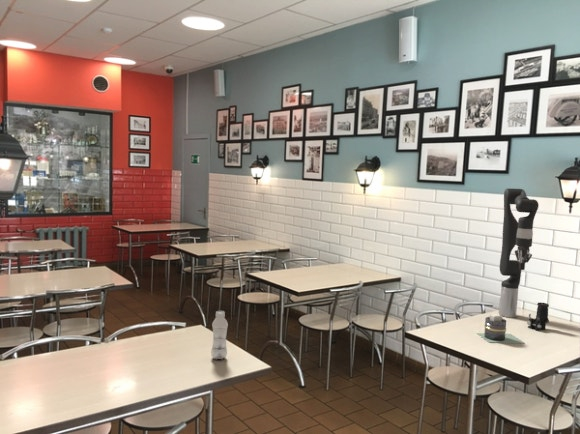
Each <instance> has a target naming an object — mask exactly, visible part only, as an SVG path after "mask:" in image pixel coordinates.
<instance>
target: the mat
mask: <svg viewBox="0 0 580 434" xmlns="http://www.w3.org/2000/svg"><path fill="white" fill-rule="evenodd" d="M476 335H478V336H479V337H480V336H481V338H482V339H483V340H484V341H486V342H487V343H490V344H525V342H524V341H523V340H522V339H519V337H516V336H515V335H513V334H512V333H505V340H504V341H494V340H490V339H487V338H485V337H484V332H483V333H482V332H480V333H476Z"/></svg>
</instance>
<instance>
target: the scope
mask: <svg viewBox="0 0 580 434" xmlns="http://www.w3.org/2000/svg"><path fill="white" fill-rule="evenodd" d="M549 306H550V305H549V303H546V302H537V309H536V315H535V318H533V317H531V313H529V314H528V319H527V320H528V321H527V322H526V325H527V328H528V329H530V330H531V329H532V330H535V332H536V331H537V332H539V331H542V330H543V331H545V330H546V325H547V324H548V323H550V319H549Z"/></svg>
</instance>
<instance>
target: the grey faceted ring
mask: <svg viewBox="0 0 580 434" xmlns="http://www.w3.org/2000/svg"><path fill="white" fill-rule="evenodd" d="M506 331H507V319H505V318H502V322H496V321H491V320H490V316H487V317H485V321H484V332H483V333H484V337H485V338H487V339H490V340H494V341H504V340H505V334H506V333H507V332H506Z"/></svg>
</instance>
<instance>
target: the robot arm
mask: <svg viewBox="0 0 580 434" xmlns="http://www.w3.org/2000/svg"><path fill="white" fill-rule="evenodd" d="M511 205H515V210H516V211H517V212H518V213H526V214H527V213H528V215H526V216H521V217H518V220H517V219H516V217H515V216H514V214H513V211H512V210H511V209H512V208H511ZM538 210H539V202H538V200H536V199H531V198H529V197H528V196H527V192H526V191H525V190H524V189H522V188H505V189H504V192H503V223H502V240H501V241H502V243H501V244H502V245H501V253H500V254H501V255H500V259H499V272H500V274H501V276H505V277H506V276H507V277H508V276H509V277H508V278H507V279H505V280H502V281H501V284H500V285H501V286H500V297H499V304H498V305H499V307H498V315H500V316H501V317H505V318H516V317H517V309H518V298H519V286H520V283H521V277H522V275H521V274H522V271H525V268H526V263H529V261H530V260H531V258H532V256H533V254H532V253H530V248H531V247H532V246H533V238H534V237H533V235H534V231H533V230H534V220H535V217H536V214H537V212H538ZM516 246H517V249H516V250H514V248H515V247H516ZM513 250H514V255H515V258H516V259H515V260H514V259H510V258H511V254H512V251H513Z"/></svg>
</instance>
